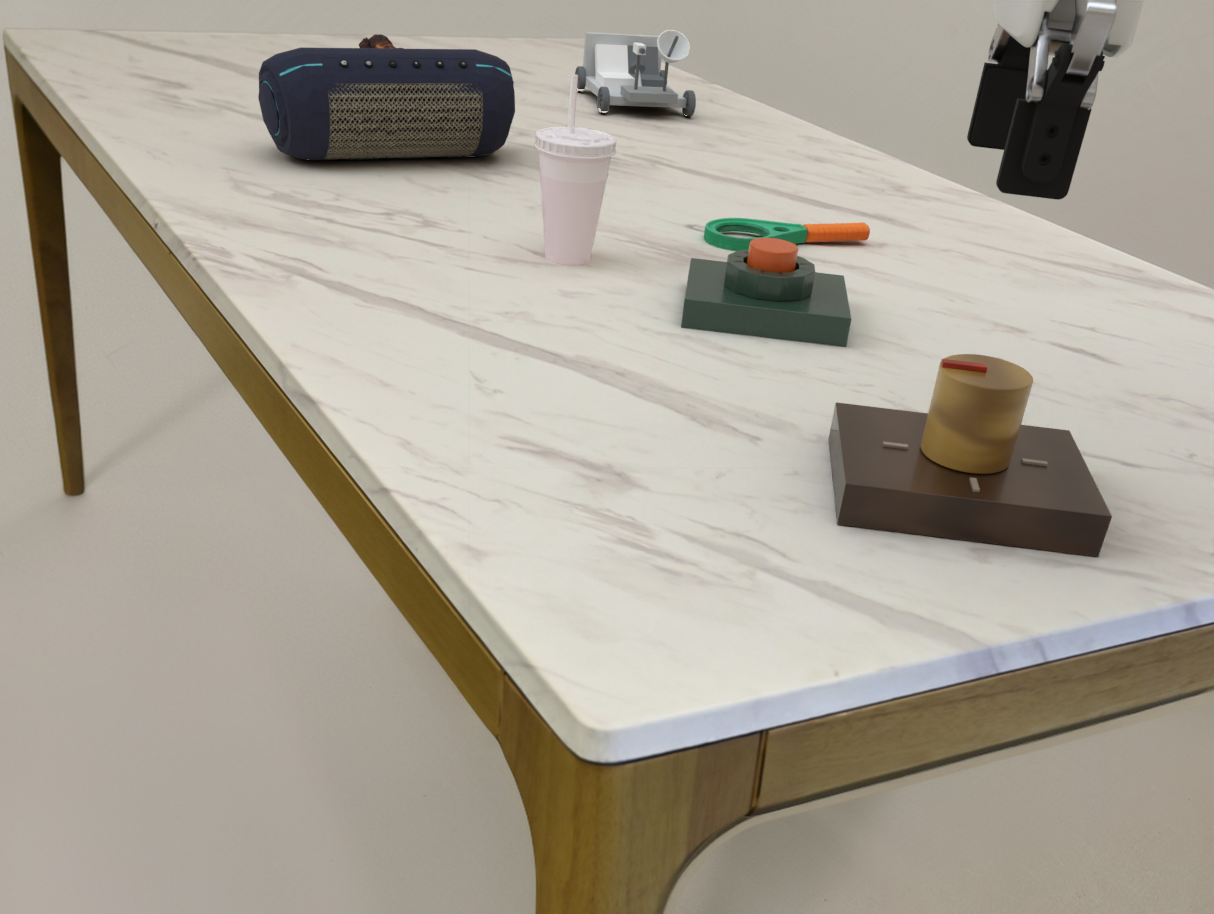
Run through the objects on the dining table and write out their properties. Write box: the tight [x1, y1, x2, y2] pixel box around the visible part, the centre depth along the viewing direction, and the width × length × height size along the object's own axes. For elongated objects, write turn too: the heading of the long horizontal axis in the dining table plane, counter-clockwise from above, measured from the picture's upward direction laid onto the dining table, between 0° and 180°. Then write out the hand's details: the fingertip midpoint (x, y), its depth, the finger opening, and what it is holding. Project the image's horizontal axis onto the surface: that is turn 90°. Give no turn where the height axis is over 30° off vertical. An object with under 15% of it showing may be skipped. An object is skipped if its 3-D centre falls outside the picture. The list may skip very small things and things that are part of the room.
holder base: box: [828, 402, 1113, 558], centre depth 72 cm, size 14×11×3 cm
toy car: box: [574, 29, 697, 117], centre depth 154 cm, size 18×10×12 cm
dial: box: [920, 353, 1034, 474], centre depth 70 cm, size 5×5×5 cm
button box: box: [680, 250, 852, 348], centre depth 95 cm, size 12×10×4 cm
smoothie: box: [534, 73, 617, 267], centre depth 99 cm, size 6×6×14 cm
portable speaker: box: [257, 47, 516, 161], centre depth 123 cm, size 25×10×10 cm, turn 115°
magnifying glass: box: [703, 217, 871, 252], centre depth 112 cm, size 15×6×2 cm, turn 105°
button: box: [747, 237, 799, 273], centre depth 93 cm, size 4×4×2 cm
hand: (1012, 169), depth 62 cm, fingers open, 9 cm apart
